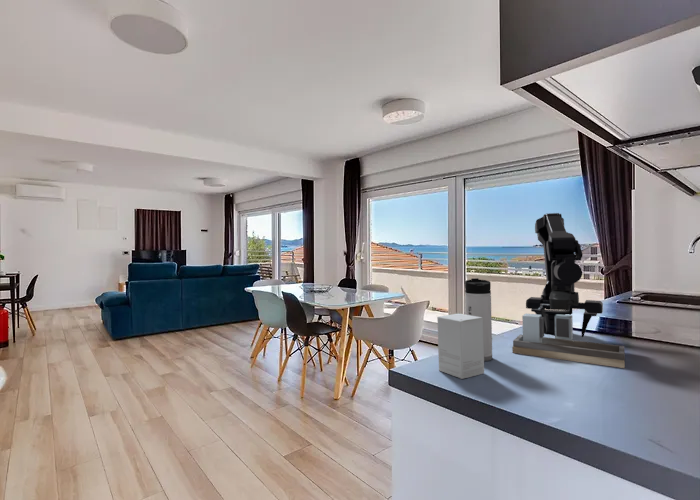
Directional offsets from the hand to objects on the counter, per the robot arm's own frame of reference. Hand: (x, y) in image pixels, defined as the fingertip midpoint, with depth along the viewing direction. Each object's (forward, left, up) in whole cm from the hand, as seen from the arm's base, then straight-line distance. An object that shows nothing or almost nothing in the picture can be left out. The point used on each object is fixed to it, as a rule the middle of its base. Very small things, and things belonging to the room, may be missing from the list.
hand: (563, 334), depth 107 cm
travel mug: (+26, -16, -3) cm, 31 cm away
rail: (+12, +2, -2) cm, 13 cm away
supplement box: (+39, -16, -3) cm, 42 cm away
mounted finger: (+12, -6, -1) cm, 14 cm away
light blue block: (0, 0, -2) cm, 3 cm away
